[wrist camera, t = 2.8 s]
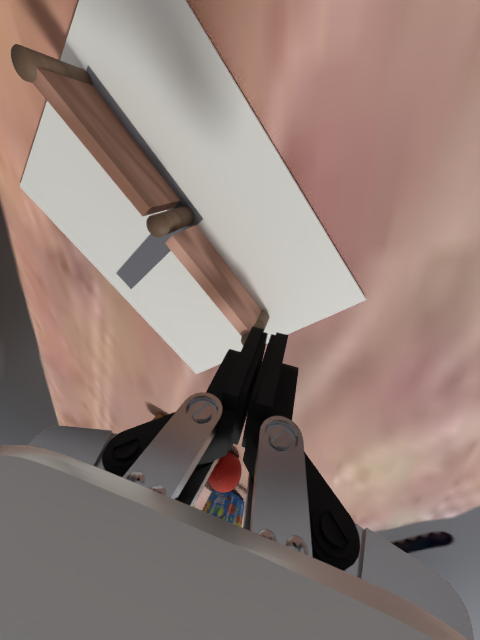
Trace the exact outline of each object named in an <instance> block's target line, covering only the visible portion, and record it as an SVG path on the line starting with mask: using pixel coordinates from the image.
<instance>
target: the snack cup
mask: <svg viewBox="0 0 480 640" xmlns="http://www.w3.org/2000/svg"><path fill="white" fill-rule="evenodd" d="M193 507H195V506H193ZM243 510H244V501H242V499H241V498H240V497H239V496H238V495H236V494H235V493H234V492H232V491H229V492H225V493H222V492H218V491H216V490H213V491H212V492H211V494H210V496H209V498H208V500H207V502H206V504H205V506H204V508H203V510H202V511H204V512H206V513H208V514H211V515H213V516H215V517H218V518H220V519H223V520H225V521H227V522H230V523H232V524H235V525H237V526H239V527H241V525H242V517H243Z"/></svg>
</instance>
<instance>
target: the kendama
mask: <svg viewBox="0 0 480 640" xmlns="http://www.w3.org/2000/svg"><path fill="white" fill-rule="evenodd" d="M161 417H163V415H162V414H161V413H159V414H158V415H156V417H155V418H154V419H153V420H155V419H158V418H161ZM240 477H241V464H240V461H239V459H238V458H237V457H236V456H235V455H234V454H233V453H231V452H228V453H227V455H225V456H223V457H221V458H219V459H218V460H217V463H216V465H215V467H214V469H213V471H212V473H211V474H210V476H209V478H208V482H209V484H210V486H211V487H212V488H213V489H214V490H216V491H218V492H222V493H225V492H229V491H231V490H233V489H234V488H235V487H236V486H237V484H238V483H239V480H240Z"/></svg>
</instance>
